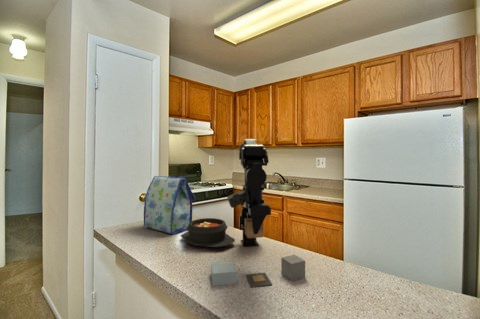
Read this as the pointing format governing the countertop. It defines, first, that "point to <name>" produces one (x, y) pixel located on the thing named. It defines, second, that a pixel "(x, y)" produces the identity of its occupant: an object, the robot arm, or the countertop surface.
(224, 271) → the base block
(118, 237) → the countertop surface
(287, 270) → the grey cube
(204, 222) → the casserole
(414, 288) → the countertop surface
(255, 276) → the mat
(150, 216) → the lunch bag
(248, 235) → the walnut cube
